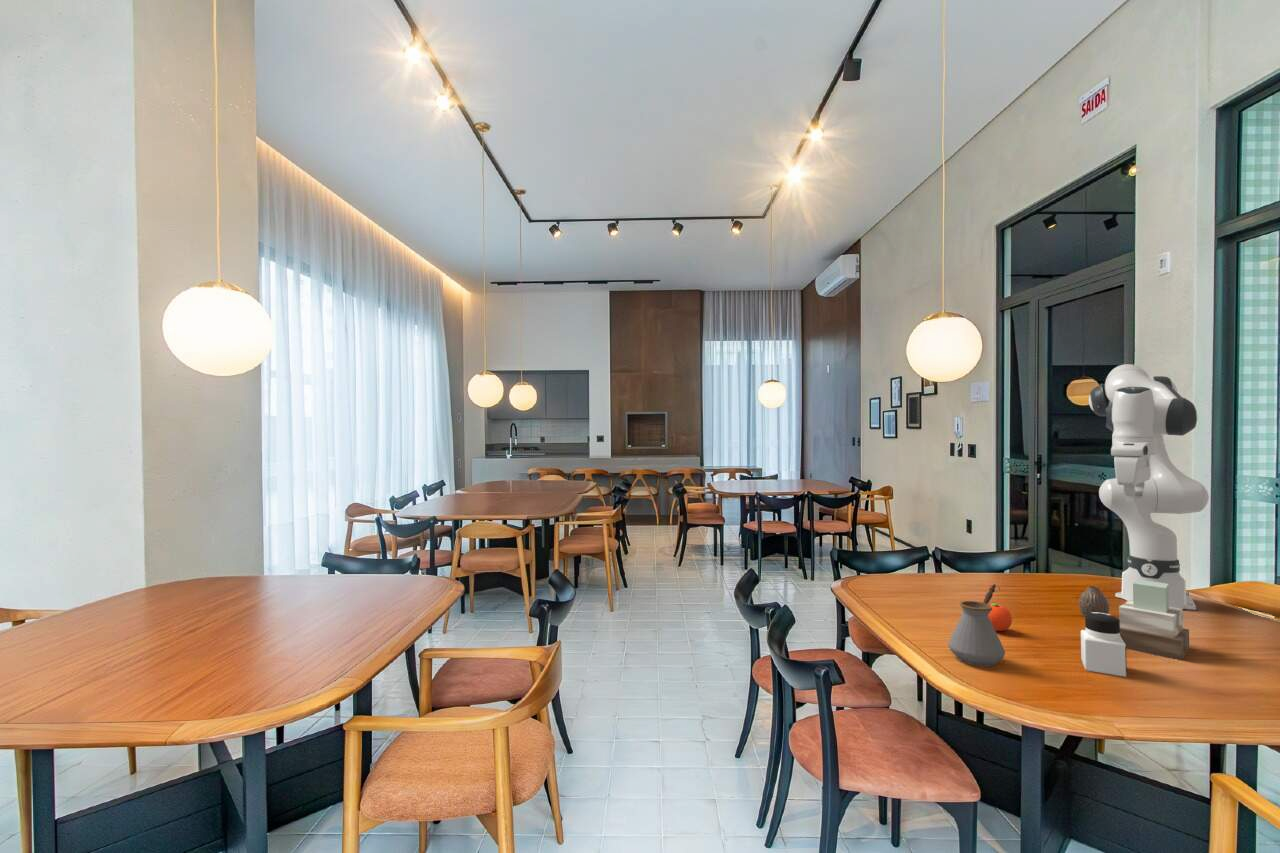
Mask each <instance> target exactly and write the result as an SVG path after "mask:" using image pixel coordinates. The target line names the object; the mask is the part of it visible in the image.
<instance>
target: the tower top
mask: <svg viewBox="0 0 1280 853" xmlns="http://www.w3.org/2000/svg"><path fill="white" fill-rule="evenodd" d="M1183 610H1184V609H1180V608H1175V607H1169V610H1168V611H1167V613H1162V612H1156V611H1150V610H1144V609H1138V608H1133V600H1129V601H1127V600H1126V602H1124V603H1123V604H1121V605H1119V606H1118V619H1119V620H1120V627H1122V628H1127V629H1131V630H1136V631H1141V632H1146V633H1151V634H1156V635H1161V636H1166V637H1170V638H1174V637H1176V636H1177V635H1178V634H1179V633H1180V632H1181V631H1182V630H1183V628H1184V617H1183V616H1184V613H1183V612H1184V611H1183Z"/></svg>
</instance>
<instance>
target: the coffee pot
mask: <svg viewBox="0 0 1280 853" xmlns="http://www.w3.org/2000/svg"><path fill="white" fill-rule="evenodd" d="M996 587H997V588H998V589H999V590H995V589H996ZM988 590H989V591H987V593H986V594H985V597H984V599H983V601H982V602H980V601H974V600H973V601H972V600H964V601H960V602H959V606H961V609H962V613H961V615H960V617H959V619H958V621H957V623H956V626H955V627H954V630H953V632H952V634H951V636H950V638H949V640H948V642H947V645H948V648H949V650H950V651H951V653H952V654H953V655H954V656H956V657H957V659H958V660H959V661H961V662H963V663H965V664H968V665H972V666H977V667H994V666H996V664H997V663H999V662H1001V661H1002V660H1003V659H1004V657H1005V655H1006V651H1005V649H1004V646H1003V644H1002V642H1001V639H1000V637H999V636H998V634H997V631H995V629H994V627H993V625H992V623H991V620H990V618H989V616H988V614H989V613H990V611H991V610H992V607H991V606H990V605H988V604H990V601H991V599H992V597H993V594H994V593H995V592H996V593H997V592H1000V591H1001V588H1000V586H999V585H996V584H995V583H993V584H992V585H989V588H988Z"/></svg>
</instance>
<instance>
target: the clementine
mask: <svg viewBox="0 0 1280 853" xmlns="http://www.w3.org/2000/svg"><path fill="white" fill-rule="evenodd" d="M988 605H990V606H991V607H992V610H991V611H990V613H989V614H988V616H989V618H990V620H991V623H992V625H993V627H994V629H995V631H996V632H1004V631H1006V630H1008V629H1009V628H1010V627H1011V625H1012V623H1013V617H1012V615H1011V613H1010V611H1009V610H1008V609H1007V608H1006V607H1004V606H1003V605H1001V604H997V603H988Z"/></svg>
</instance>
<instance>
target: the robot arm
mask: <svg viewBox="0 0 1280 853" xmlns="http://www.w3.org/2000/svg"><path fill="white" fill-rule="evenodd" d="M1088 405H1089V407H1090V409H1091V410H1092V411H1093V412H1094V414H1095V415H1097V416H1098V417H1106V419H1105V420H1106V422H1105V423H1106V424H1105V427H1106V428H1107V429H1108V430H1110V431H1111V432H1112V434H1111V435H1112V437H1111V439H1112V440H1111V441H1112V442H1111V443H1112V444H1111V448H1110V455H1111V456H1113V459H1114V461H1113V462H1114V463H1113V464H1114V472H1115V474H1114V475H1115V477H1113V478H1109V479H1106V480H1104V481H1103V482H1102V484H1101V485H1100V487H1099V489H1098V496H1099V499H1100V501H1101V503H1102V504H1103V506H1105V507H1106V508H1108V509H1109V510H1110V511H1112V512H1113V513H1115V514H1116V515H1117V516H1118V518H1120V519H1121V521H1122V522H1123V524H1124V526H1125V528H1126V531H1127V535H1128V536H1127V537H1128V544H1129V545H1128V546H1129V553H1128V555H1127V565H1128V568H1127V569H1125V570H1124V571H1122V574H1121V591H1119V592H1116V593H1115V597H1116V598H1120V599H1123V600H1125V601H1126V602H1127V601H1129V600H1133V583H1134V582H1135V581H1136V580H1137V579H1138V580H1145V581H1152V582H1159V583H1166V584H1169V607H1175V608H1180V609H1183V610H1192V611H1193V610H1197V606H1196V604H1195V602H1194V600H1193V597H1192V596H1190V592H1189V591H1187V587H1186V586H1187V583H1186V580H1185V579H1184V577H1182V575H1181V573H1180V571H1181V563H1180V560H1179V559H1178V540H1177V536H1176V534H1175V532H1174V531H1173V530H1171V528H1169V527H1166V526H1165V525H1162V524H1160V523H1158V522H1155V521H1154V520H1152V516H1151V514H1173V515H1175V514H1176V515H1183V514H1193V513H1199V512H1202V511H1203V510H1204V509H1205V508H1206V507H1207V505H1208V503H1209V493H1208V490H1207V489H1206V488H1207V487H1205V486H1204V485H1203V484H1202V483H1201V482H1199V481H1198V480H1195V479H1193V478H1191V477H1189V476H1187V475H1185V473H1183V472H1182V471H1180V470H1179V469H1178V468H1177V466H1175V464H1173V463H1172V461H1171V459H1170V457H1169V455H1168V452H1167V449H1166V444H1165V440H1164V436H1163V435H1167V436H1184V435H1186V434H1189V433H1190V432H1191V431H1193V430H1194V429H1195V428H1196V426H1197V423H1198V411H1197V408H1196V406H1195V404H1194V403H1193V402H1191V401H1190V400H1189V399H1187V398H1185V397H1182V396H1181V394H1179V393H1178V389H1177V386H1176V384H1175V383H1174V382H1173V381H1172V380H1171V378H1170V377H1168V376H1162V375H1161V376H1159V375H1158V376H1153V377H1150V376H1149V374H1148V373H1147V372H1146V371H1145V370H1144V369H1143V368H1141V367H1140V366H1138V365H1135V364H1132V363H1131V364H1130V363H1128V364H1127V363H1126V364H1125V363H1124V364H1120V365H1117V366H1116V367H1114V368H1112V370H1111V371H1110V372H1109V373H1108V375H1107V376H1106V378H1105V382H1104V383H1099V385H1098V386H1096V387H1094V388H1093V389H1091V391H1090V392H1089V396H1088Z"/></svg>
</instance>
